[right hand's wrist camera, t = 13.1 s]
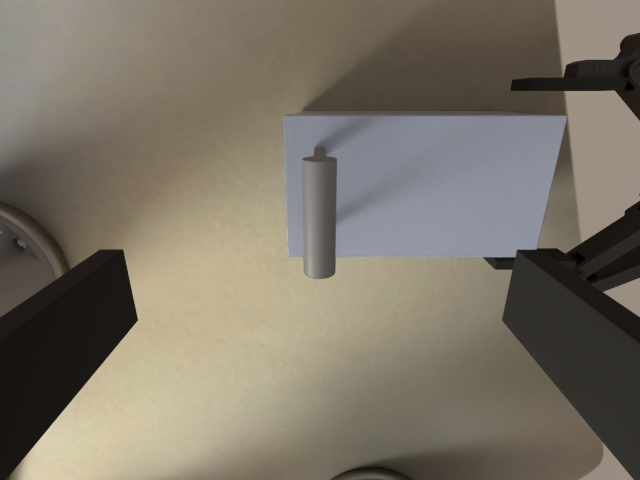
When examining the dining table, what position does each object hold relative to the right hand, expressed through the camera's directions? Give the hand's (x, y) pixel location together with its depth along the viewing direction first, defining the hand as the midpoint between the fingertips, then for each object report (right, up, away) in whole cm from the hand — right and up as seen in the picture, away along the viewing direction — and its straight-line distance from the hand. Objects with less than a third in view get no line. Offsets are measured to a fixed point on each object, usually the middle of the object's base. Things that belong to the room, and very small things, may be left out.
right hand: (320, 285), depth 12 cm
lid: (+7, +5, +14) cm, 16 cm away
